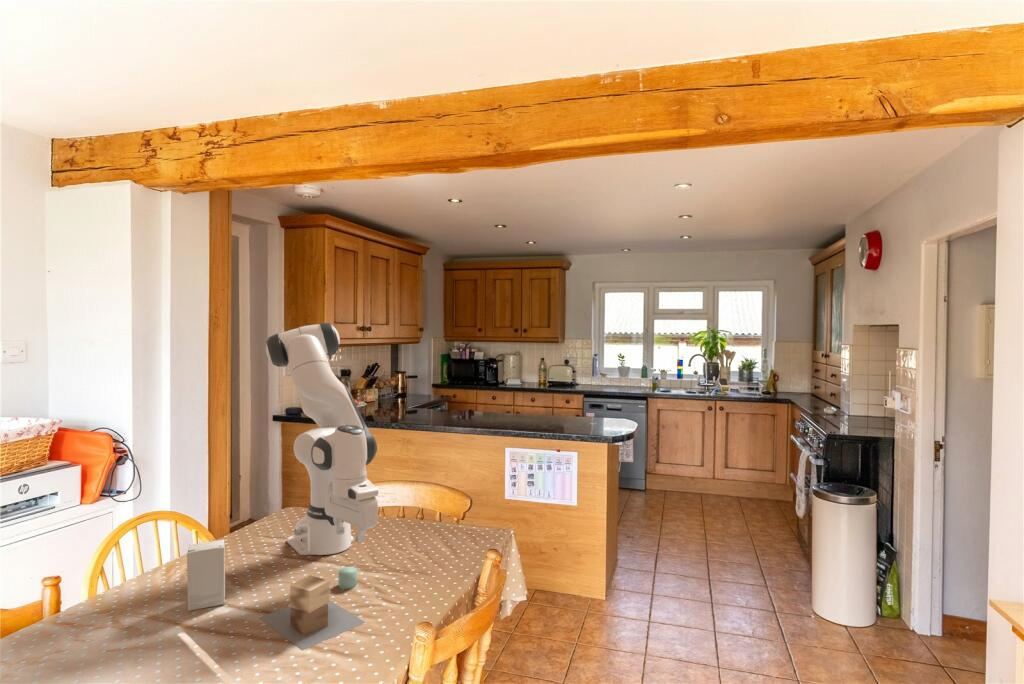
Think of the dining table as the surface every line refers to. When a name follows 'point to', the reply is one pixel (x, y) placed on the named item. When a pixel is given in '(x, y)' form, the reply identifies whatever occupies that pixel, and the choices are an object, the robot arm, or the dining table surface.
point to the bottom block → (309, 620)
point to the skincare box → (206, 574)
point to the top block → (309, 594)
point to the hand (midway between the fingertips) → (349, 538)
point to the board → (337, 624)
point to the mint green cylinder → (347, 578)
